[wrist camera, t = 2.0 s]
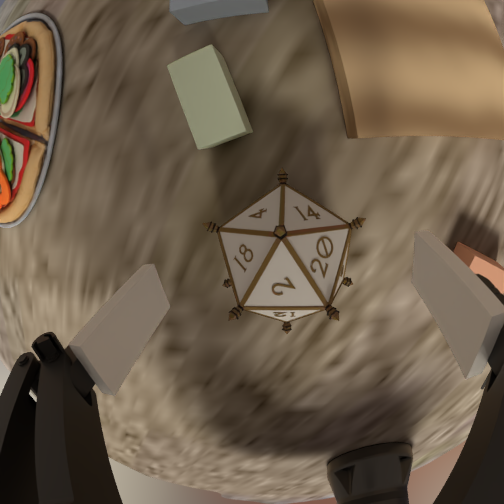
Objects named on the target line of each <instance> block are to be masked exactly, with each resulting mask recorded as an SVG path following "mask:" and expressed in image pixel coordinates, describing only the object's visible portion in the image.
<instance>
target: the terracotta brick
mask: <svg viewBox="0 0 504 504" xmlns="http://www.w3.org/2000/svg"><path fill="white" fill-rule="evenodd" d="M453 253H454V254H455V255H457V256H458V257H459V258H460V259H461V260H462V261H463V262H464V263H465V264H466V265H467V266H468V267H469V268H470V269H471V270H472V271H473V272H474V273H475V274H478V273H479V274H480V275H482V276H484V277H486V278H487V279H489V280H490V281H491V282H492V283H493V285H494V286H495V288H497V289H498V290H499V291H500V293H502V294H503V293H504V268H503V267H502V266H501V265H500V264H499V263H497V262H496V261H494V260H493V259H491V258H489V257H487V256H485V255H483V254H482V253H480V252H478V251H476V250H474V249H472V248H470V247H468V246H466V245H464V244H462V243H460V242H457V245H456V247H455V249H454V251H453Z"/></svg>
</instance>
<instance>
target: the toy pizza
mask: <svg viewBox="0 0 504 504" xmlns="http://www.w3.org/2000/svg"><path fill="white" fill-rule="evenodd" d="M61 88H62V47H61V41H60V36H59V33H58V30H57V27H56V25H55V24H54V22H53V21H52V20H51V19H50V18H49V17H48V16H47V15H45V14H42V13H30V14H27V15H25V16H22V17H20V18H19V19H17V20H16V21H14V22H13V23H12V24H11V25H9V26H8V27H7V28H6V29H5V30H4V31H3V32H2V33H1V35H0V227H3V228H11V227H14V226H16V225H18V224H19V223H21V222H22V221H23V220H24V219H25V218H26V217H27V216H28V214H29V213H30V211H31V210H32V208H33V206H34V204H35V202H36V200H37V198H38V196H39V193H40V191H41V188H42V185H43V183H44V180H45V176H46V173H47V169H48V166H49V162H50V158H51V154H52V149H53V144H54V139H55V134H56V128H57V122H58V116H59V108H60V98H61Z"/></svg>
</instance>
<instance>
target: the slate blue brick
mask: <svg viewBox="0 0 504 504" xmlns="http://www.w3.org/2000/svg"><path fill="white" fill-rule="evenodd" d="M169 12H170V13H171V14H172V15H174V16H175V17H176V18H177V19H178V20H179V21H181V22H182V23H183V24H184V25H189V24H193V23H197V22H202V21H207V20H212V19H218V18H224V17H230V16H238V15H246V14H256V13H268V12H269V10H268V1H267V0H170V8H169Z"/></svg>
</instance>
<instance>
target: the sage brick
mask: <svg viewBox="0 0 504 504" xmlns="http://www.w3.org/2000/svg"><path fill="white" fill-rule="evenodd" d="M167 68H168V71H169V73H170V76H171V79H172V81H173V84H174V87H175V90H176V92H177V95H178V98H179V100H180V103H181V106H182V108H183V111H184V114H185V116H186V119H187V122H188V124H189V127H190V130H191V132H192V135H193V138H194V140H195V143H196V146H197V148H198V150H200V149H207V148H213V147H215V146H218V145H220V144H223V143H225V142H228V141H230V140H233V139H236V138H239V137H241V136H244V135H247V134H250V133H253V130H252V128H251V125H250V123H249V120H248V117H247V115H246V112H245V109H244V107H243V104H242V102H241V99H240V97H239V94H238V92H237V89H236V87H235V84H234V82H233V79H232V77H231V74H230V72H229V69H228V67H227V64H226V62H225V60H224V57H223V56H222V55H221V54H220V53H219V51H218V50H217V49H216V48H215V47H214V46H213V45H212V44H211V45H208V46H206V47H204V48H201V49H199V50H197V51H195V52H193V53H190V54H188V55H186V56H184V57H182V58H180V59H178V60H176V61H174V62H172V63H170V64H168V65H167Z"/></svg>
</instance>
